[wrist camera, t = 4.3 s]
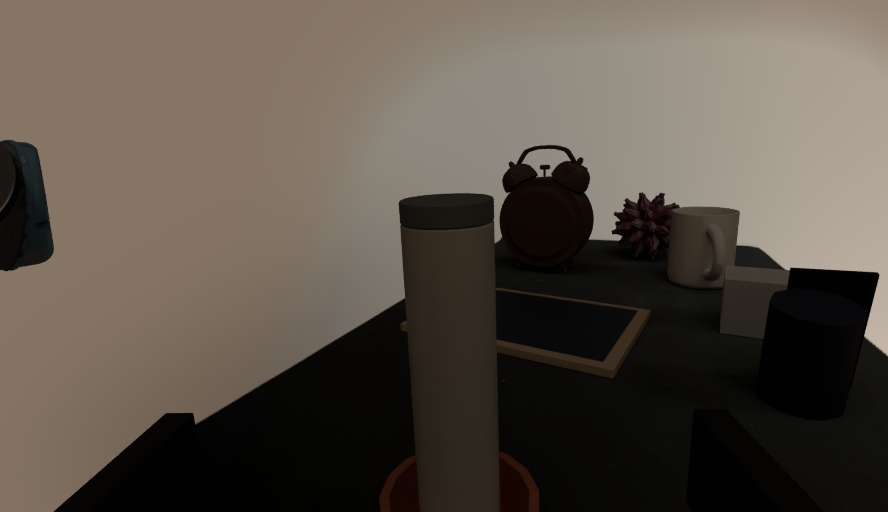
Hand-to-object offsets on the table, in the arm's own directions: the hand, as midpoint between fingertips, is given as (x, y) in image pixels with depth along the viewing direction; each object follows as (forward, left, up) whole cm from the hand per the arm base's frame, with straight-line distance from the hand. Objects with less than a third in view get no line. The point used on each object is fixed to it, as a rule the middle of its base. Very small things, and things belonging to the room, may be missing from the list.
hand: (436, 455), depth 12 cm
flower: (-8, +77, -13) cm, 78 cm away
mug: (+2, +63, -13) cm, 64 cm away
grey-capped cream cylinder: (-4, +8, -12) cm, 15 cm away
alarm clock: (-21, +63, -13) cm, 68 cm away
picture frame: (-14, +39, -13) cm, 43 cm away
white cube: (+8, +49, -13) cm, 51 cm away
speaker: (+11, +34, -13) cm, 38 cm away
